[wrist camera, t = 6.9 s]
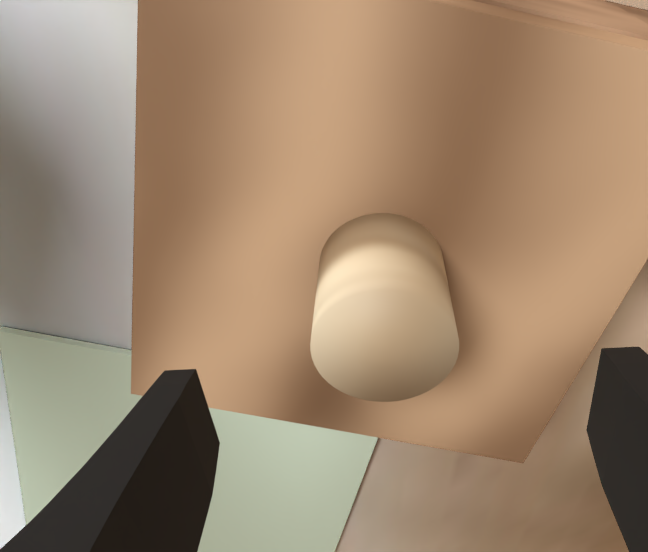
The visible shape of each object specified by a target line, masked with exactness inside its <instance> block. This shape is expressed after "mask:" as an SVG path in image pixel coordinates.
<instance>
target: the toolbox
mask: <svg viewBox="0 0 648 552" xmlns="http://www.w3.org/2000/svg"><path fill="white" fill-rule="evenodd" d="M473 1H477V2H482V3H486V4H491V5H495V6H499V7H504V8H508V9H512V10H517V11H521V12H526V13H530V14H534V15H539V16H543V17H547V18H552V19H556V20H560V21H565V22H569V23H574V24H578V25H582V26H587V27H591V28H595V29H600V30H604V31H609V32H613V33H617V34H622V35H626V36H630V37H635V38H639V39H644V40H648V10H643V9H639V8H635V7H631V6H626V5H622V4H618V3H614V2H609V1H605V0H473Z"/></svg>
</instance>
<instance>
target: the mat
mask: <svg viewBox="0 0 648 552" xmlns="http://www.w3.org/2000/svg"><path fill="white" fill-rule="evenodd" d="M0 351H1V358H2V364H3V371H4V378H5V385H6V392H7V398H8V405H9V412H10V419H11V425H12V432H13V439H14V446H15V453H16V459H17V466H18V473H19V480H20V487H21V493H22V500H23V507H24V514H25V520H26V525H27V524H28V523H29V522H30V521H31V520H32V519H33V518H34V517H35V516H36V515H37V514H38V513H39V512H40V511H41V510H42V509H43V508H44V507H45V506H46V505H47V504H48V503H49V502H50V501H51V500H52V499H53V498H54V497H55V495H56V494H57V493H58V492H59V491H60V490H61V489H62V488H63V487H64V486H65V485H66V484H67V483H68V482H69V481H70V480H71V479H72V477H73V476H74V475H75V474H76V473H77V472H78V471H79V470H80V469H81V468H82V467H83V466H84V464H85V463H86V462H87V461H88V460H89V459H90V458H91V456H92V455H93V454H94V453H95V452H96V451H97V450H98V448H99V447H100V446H101V445H102V444H103V443H104V441H105V440H106V439H107V438H108V437H109V436H110V435H111V433H112V432H113V431H114V430H115V429H116V428H117V426H118V425H119V424H120V423H121V422H122V420H123V419H124V418H125V417H126V416H127V414H128V413H129V412H130V411H131V410H132V408H133V407H134V406H135V405H136V404H137V402H138V401H139V400H140V399H141V398H142V396H141V395H135V394H131V354H132V350H128V349H122V348H117V347H112V346H106V345H101V344H95V343H90V342H84V341H79V340H73V339H68V338H62V337H57V336H51V335H46V334H41V333H35V332H30V331H24V330H19V329H13V328H8V327H2V326H1V327H0ZM209 411H210V414H211V417H212V420H213V423H214V426H215V429H216V432H217V436H218V439H219V442H220V446H219V453H218V461H217V468H216V475H215V482H214V488H213V494H212V499H211V502H210V506H209V510H208V514H207V518H206V521H205V525H204V529H203V533H202V536H201V540H200V544H199V547H198V551H197V552H335V550H336V547H337V544H338V542H339V539H340V537H341V534H342V531H343V529H344V526H345V523H346V521H347V518H348V515H349V513H350V510H351V508H352V505H353V502H354V500H355V497H356V494H357V492H358V489H359V487H360V484H361V481H362V479H363V476H364V473H365V471H366V468H367V465H368V463H369V460H370V458H371V455H372V452H373V450H374V447H375V444H376V442H377V439H378V437H372V436H367V435H361V434H355V433H350V432H344V431H338V430H333V429H327V428H321V427H316V426H310V425H304V424H299V423H293V422H287V421H282V420H276V419H271V418H265V417H259V416H254V415H248V414H242V413H237V412H231V411H225V410H220V409H214V408H209Z"/></svg>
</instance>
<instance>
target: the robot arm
mask: <svg viewBox="0 0 648 552" xmlns="http://www.w3.org/2000/svg"><path fill="white" fill-rule="evenodd" d="M587 433H588V437H589V440H590V444H591V448H592V452H593V456H594V459H595V463H596V466H597V470H598V473H599V477H600V480H601V483H602V486H603V489H604V491H605V494H606V496H607V499H608V501H609V504H610V506H611V509H612V511H613V513H614V516H615V518H616V521H617V523H618V526H619V528H620V530H621V533H622V535H623V538H624V540H625V542H626V545H627V547H628V550H629V552H648V354H646V353H645V352H644V351H643V350H642V349H641V348H640V347H624V348H604V349H601V355H600V360H599V365H598V371H597V376H596V382H595V387H594V393H593V398H592V404H591V409H590V414H589V420H588V425H587ZM219 446H220V442H219V439H218V436H217V432H216V429H215V426H214V423H213V420H212V417H211V414H210V411H209V408H208V405H207V401H206V398H205V395H204V392H203V389H202V386H201V383H200V380H199V377H198V374H197V370H196V369H184V370H165V371H164V372H163V373H162V374H161V375H160V376H159V377H158V379H157V380H156V381H155V382H154V383H153V384H152V386H151V387H150V388H149V389H148V390H147V392H146V393H145V394H144V395H143V396H142V398H141V399H140V400H139V401H138V402H137V404H136V405H135V406H134V407H133V408H132V410H131V411H130V412H129V413H128V414H127V416H126V417H125V418H124V419H123V420H122V422H121V423H120V424H119V425H118V426H117V428H116V429H115V430H114V431H113V432H112V433H111V435H110V436H109V437H108V438H107V439H106V440H105V441H104V443H103V444H102V445H101V446H100V447H99V448H98V450H97V451H96V452H95V453H94V454H93V455H92V456H91V458H90V459H89V460H88V461H87V462H86V463H85V464H84V466H83V467H82V468H81V469H80V470H79V471H78V472H77V473H76V474H75V475H74V476H73V477H72V479H71V480H70V481H69V482H68V483H67V484H66V485H65V486H64V487H63V488H62V489H61V490H60V491H59V492H58V493H57V494H56V495H55V497H54V498H53V499H52V500H51V501H50V502H49V503H48V504H47V505H46V506H45V507H44V508H43V509H42V510H41V511H40V512H39V513H38V514H37V515H36V516H35V517H34V518H33V519H32V520H31V521H30V522H29V523H28V524H27V525H26V526H25V527H24V528H23V529H22V530H21V531H20V532H19V533H18V534H17V535H15V536H14V537H13V538H12V539H11V540H10V541H9V542H8V543H7V544H6V545H5V546H3V547H2V548H1V549H0V552H197V551H198V547H199V544H200V540H201V536H202V533H203V529H204V525H205V521H206V518H207V514H208V510H209V506H210V502H211V499H212V494H213V488H214V482H215V475H216V468H217V461H218V453H219Z"/></svg>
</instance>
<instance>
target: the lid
mask: <svg viewBox="0 0 648 552" xmlns="http://www.w3.org/2000/svg"><path fill="white" fill-rule="evenodd" d="M647 259H648V40H644V39H639V38H635V37H630V36H626V35H622V34H617V33H613V32H609V31H604V30H600V29H595V28H591V27H587V26H582V25H578V24H574V23H569V22H565V21H560V20H556V19H552V18H547V17H543V16H539V15H534V14H530V13H526V12H521V11H517V10H512V9H508V8H504V7H499V6H495V5H491V4H486V3H482V2H477V1H473V0H138V28H137V83H136V137H135V191H134V245H133V300H132V354H131V394H135V395H141V396H143V395H144V394H145V393H146V392H147V390H148V389H149V388H150V387H151V386H152V384H153V383H154V382H155V381H156V380H157V379H158V377H159V376H160V375H161V374H162V373H163V372H164V371H165V370H184V369H196V370H197V374H198V377H199V380H200V383H201V386H202V389H203V392H204V395H205V398H206V401H207V405H208V408H214V409H220V410H225V411H231V412H237V413H242V414H248V415H254V416H259V417H265V418H271V419H276V420H282V421H287V422H293V423H299V424H304V425H310V426H316V427H321V428H327V429H333V430H338V431H344V432H350V433H355V434H361V435H367V436H372V437H378V438H384V439H389V440H395V441H400V442H406V443H412V444H417V445H423V446H429V447H434V448H440V449H446V450H451V451H457V452H463V453H468V454H474V455H480V456H485V457H491V458H497V459H502V460H508V461H513V462H519V463H524V461H525V459H526V458H527V456H528V454H529V453H530V451H531V449H532V448H533V446H534V445H535V443H536V441H537V440H538V438H539V436H540V435H541V433H542V431H543V430H544V428H545V426H546V425H547V423H548V422H549V420H550V418H551V417H552V415H553V413H554V412H555V410H556V408H557V407H558V405H559V403H560V402H561V400H562V399H563V397H564V395H565V394H566V392H567V390H568V389H569V387H570V385H571V384H572V382H573V381H574V379H575V377H576V376H577V374H578V372H579V371H580V369H581V367H582V366H583V364H584V362H585V361H586V359H587V358H588V356H589V354H590V353H591V351H592V349H593V348H594V346H595V344H596V343H597V341H598V339H599V338H600V336H601V335H602V333H603V331H604V330H605V328H606V326H607V325H608V323H609V321H610V320H611V318H612V316H613V315H614V313H615V312H616V310H617V308H618V307H619V305H620V303H621V302H622V300H623V298H624V297H625V295H626V293H627V292H628V290H629V289H630V287H631V285H632V284H633V282H634V280H635V279H636V277H637V275H638V274H639V272H640V271H641V269H642V267H643V266H644V264H645V262H646V261H647Z"/></svg>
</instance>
